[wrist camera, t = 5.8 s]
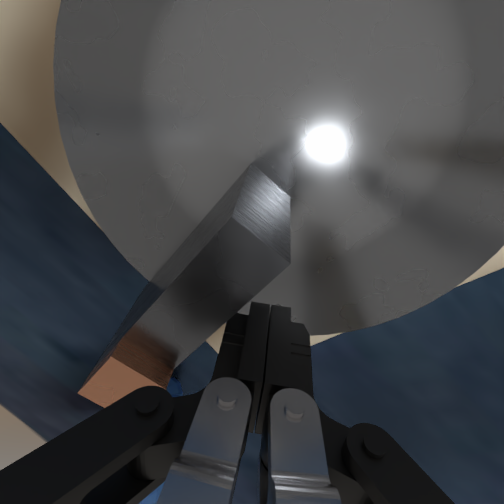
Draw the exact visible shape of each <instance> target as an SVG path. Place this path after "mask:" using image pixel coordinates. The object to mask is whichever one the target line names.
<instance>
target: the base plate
mask: <svg viewBox="0 0 504 504" xmlns="http://www.w3.org/2000/svg"><path fill="white" fill-rule="evenodd" d="M60 3H61V0H0V123H1V124H2V125H3V126H4V127H5V128H6V129H7V130H8V131H9V132H10V133H11V134H12V135H13V137H14V138H15V139H16V140H17V141H18V142H19V143H20V144H21V145H22V146H23V147H24V148H25V149H26V150H27V151H28V152H29V153H30V155H31V156H32V157H33V158H34V159H35V160H36V161H37V162H38V163H39V164H40V165H41V166H42V167H43V168H44V169H45V170H46V172H47V173H48V174H49V175H50V176H51V177H52V178H53V179H54V180H55V181H56V182H57V183H58V184H59V185H60V186H61V187H62V188H63V190H64V191H65V192H66V193H67V194H68V195H69V196H70V197H71V198H72V199H73V200H74V201H75V202H76V203H77V204H78V205H79V207H80V208H81V209H82V210H83V211H84V212H85V213H86V214H87V215H88V216H89V217H90V218H91V219H92V220H93V221H94V222H95V224H96V225H97V226H98V227H99V228H100V229H101V227H100V226H99V224H98V223H97V221H96V220H95V218H94V217H93V215H92V213H91V211H90V209H89V207H88V206H87V204H86V202H85V200H84V198H83V196H82V195H81V193H80V190H79V188H78V185H77V183H76V180H75V178H74V176H73V173H72V171H71V168H70V166H69V163H68V159H67V156H66V152H65V149H64V145H63V142H62V138H61V135H60V129H59V123H58V117H57V111H56V105H55V95H54V74H53V58H54V44H55V30H56V23H57V18H58V13H59V8H60ZM101 230H102V229H101ZM102 231H103V230H102ZM103 232H104V231H103ZM501 268H504V246H503V247H502V248H501V249H500V250H499V251H498V252H497V253H496V254H495V255H494V256H493V257H492V258H491V259H490V260H488V261H487V262H486V263H485V264H484V265H483V266H482V267H481V268H480V269H478V270H477V271H476V272H475V273H474V274H472V275H471V276H470V277H468V278H467V279H466V280H464V281H463V282H462V283H460V284H459V285H457V286H460V285H462V284H464V283H467V282H469V281H472V280H474V279H477V278H479V277H482V276H484V275H487V274H489V273H492V272H494V271H496V270H499V269H501ZM457 286H456V287H457ZM225 326H226V323H225V324H223V325H222V326H221V327H220V328H219V329H218V330H217V331H216V332H215V333H213V334H212V335H211V336H210V337H209V338H208V339H207V340H206V341H207V342H208V343H209V344H210V346H211V347H212V348H213V349H214V350H215V351H216V352H217V353H219V349H220V346H221V342H222V338H223V334H224V330H225ZM343 333H344V332H343ZM339 334H341V333H337V334H330V335H315V336H310V346H312V345H314V344H317V343H319V342H322V341H324V340H327V339H329V338H331V337H334V336H336V335H339Z"/></svg>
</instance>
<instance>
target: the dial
mask: <svg viewBox="0 0 504 504" xmlns="http://www.w3.org/2000/svg"><path fill="white" fill-rule="evenodd" d="M53 74H54V95H55V105H56V111H57V117H58V123H59V129H60V135H61V138H62V142H63V145H64V149H65V152H66V156H67V159H68V163H69V166H70V168H71V171H72V173H73V176H74V178H75V180H76V183H77V185H78V188H79V190H80V193H81V195H82V196H83V198H84V200H85V202H86V204H87V206H88V207H89V209H90V211H91V213H92V215H93V217H94V218H95V220H96V221H97V223H98V224H99V226H100V227H101V229H102V230H103V231H104V233H105V234H106V236H107V237H108V239H109V240H110V242H111V243H112V244H113V245H114V246H115V247H116V248H117V250H118V251H119V252H120V253H121V254H122V255H123V257H124V258H125V259H126V260H127V261H128V262H129V263H130V264H131V265H132V266H133V267H134V268H135V269H136V270H137V271H138V272H140V273H141V274H142V275H143V276H144V277H145V278H146V279H147V280H148V281H150V282H149V283H148V284H147V285H146V286H145V288H144V289H143V290H142V292H141V294H140V295H139V297H138V298H137V300H136V302H135V303H134V305H133V306H132V308H131V309H130V311H129V313H128V314H127V316H126V317H125V319H124V321H123V322H122V324H121V325H120V327H119V329H118V330H117V332H116V333H115V335H114V337H113V338H112V340H111V341H110V343H109V344H108V346H107V348H106V349H105V351H104V352H103V354H102V356H101V357H100V359H99V360H98V362H97V364H96V365H95V367H94V368H93V370H92V372H91V373H90V374H89V376H88V377H87V379H86V380H85V382H84V384H83V385H82V387H81V388H80V390H79V392H78V394H80V395H82V396H84V397H85V398H87V399H89V400H91V401H93V402H94V403H96V404H98V405H100V406H102V407H104V408H106V407H107V406H109V405H111V404H112V403H114V402H116V401H117V400H119V399H121V398H122V397H124V396H126V395H127V394H129V393H131V392H132V391H134V390H136V389H138V388H141V387H144V386H159V387H162V388H164V389H166V388H167V386H168V383H169V380H170V378H171V375H172V372H173V370H174V369H175V368H176V367H177V366H178V365H179V364H180V363H181V362H182V361H183V360H185V359H186V358H187V357H188V356H189V355H190V354H191V353H192V352H193V351H195V350H196V349H197V348H198V347H199V346H200V345H201V344H202V343H203V342H205V341H206V340H207V339H208V338H209V337H210V336H211V335H212V334H213V333H215V332H216V331H217V330H218V329H219V328H220V327H221V326H222V325H223V324H225V323H227V321H228V320H229V319H230V318H231V317H232V316H233V315H235V314H236V313H240V314H246V315H249V311H250V305H251V301H253V302H259V303H265V304H270V310H271V305H278V306H285V307H291V322H296V323H302V324H304V325H305V327H306V329H307V331H308V332H309V334H310V336H315V335H330V334H337V333H343V332H350V331H355V330H359V329H363V328H367V327H371V326H375V325H378V324H381V323H384V322H387V321H390V320H393V319H396V318H398V317H401V316H403V315H406V314H408V313H410V312H412V311H414V310H416V309H418V308H421V307H423V306H425V305H427V304H429V303H430V302H432V301H434V300H435V299H437V298H439V297H440V296H442V295H444V294H446V293H447V292H449V291H451V290H452V289H453V288H455V287H456V286H457V285H459V284H460V283H462V282H463V281H464V280H466V279H467V278H468V277H470V276H471V275H472V274H474V273H475V272H476V271H477V270H478V269H480V268H481V267H482V266H483V265H484V264H485V263H486V262H487V261H488V260H490V259H491V258H492V257H493V256H494V255H495V254H496V253H497V252H498V251H499V250H500V249H501V248H502V247H503V246H504V0H61V3H60V8H59V13H58V18H57V23H56V30H55V44H54V58H53ZM269 315H270V314H269Z"/></svg>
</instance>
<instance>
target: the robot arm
mask: <svg viewBox="0 0 504 504" xmlns="http://www.w3.org/2000/svg"><path fill="white" fill-rule="evenodd" d="M269 314H270V315H269ZM256 414H257V417H256ZM255 419H256V426H255V433H257V434H262V438H261V449H260V453H259V458H258V496H257V504H455V503H454V502H453V501H452V500H451V499H450V498H449V497H448V496H447V495H446V494H445V493H444V492H443V491H442V490H441V489H440V488H439V487H438V486H437V485H436V483H435V482H434V481H433V480H432V479H431V478H430V477H429V476H428V475H427V474H426V473H425V472H424V471H423V470H422V469H421V468H420V467H419V466H418V464H417V463H416V462H415V461H414V460H413V459H412V458H411V457H410V456H409V455H408V454H407V453H406V452H405V451H404V450H403V449H402V448H401V447H400V446H399V444H398V443H397V442H396V441H395V440H394V439H393V438H392V437H391V436H390V435H389V434H388V433H387V432H386V431H384V430H383V429H381V428H380V427H378V426H375V425H373V424H369V423H360V424H356V425H354V426H353V427H352V428H351V429H350V428H348V427H346V426H344V425H342V424H340V423H338V422H336V421H334V420H332V419H331V418H329V417H328V416H326V415H325V414H324V413H323V412H322V411H321V410H320V409H319V407H318V406H317V404H316V402H315V399H314V396H313V383H312V365H311V348H310V334H309V332H308V331H307V329H306V327H305V325H304V324H302V323H296V322H291V307H285V306H278V305H271V310H270V304H265V303H259V302H253V301H251V305H250V311H249V315H246V314H240V313H236V314H235V315H233V316H232V317H231V318H230V319H229V320H228V321H227V323H226V326H225V330H224V334H223V338H222V342H221V346H220V349H219V353H218V357H217V361H216V365H215V369H214V372H213V376H212V379H211V381H210V383H209V384H208V385H207V386H206V387H205V388H204V389H202V390H201V391H199V392H197V393H195V394H192V395H187V396H179V397H172V396H171V394H170V393H169V392H168V391H167V390H166V389H164V388H162V387H159V386H144V387H141V388H138V389H136V390H134V391H132V392H131V393H129V394H127V395H126V396H124V397H122V398H121V399H119V400H117V401H116V402H114V403H112V404H111V405H109V406H107V407H106V408H104V409H102V410H101V411H99V412H97V413H96V414H94V415H92V416H91V417H89V418H87V419H86V420H84V421H82V422H81V423H79V424H77V425H76V426H74V427H72V428H71V429H69V430H67V431H66V432H64V433H62V434H61V435H59V436H57V437H56V438H54V439H52V440H51V441H49V442H47V443H46V444H44V445H42V446H41V447H39V448H37V449H35V450H34V451H32V452H31V453H29V454H27V455H25V456H24V457H22V458H21V459H19V460H17V461H15V462H14V463H12V464H10V465H9V466H7V467H5V468H4V469H2V470H0V504H139V503H140V502H141V501H142V500H143V499H145V498H146V497H147V496H148V495H149V494H150V493H152V492H153V491H154V490H155V489H156V488H158V487H159V486H160V485H161V484H162V483H163V482H164V481H165V482H164V485H163V488H162V490H161V493H160V496H159V498H158V501H157V503H156V504H232V499H233V494H234V490H235V485H236V480H237V476H238V471H239V466H240V461H241V457H242V455H243V453H244V451H245V446H246V441H247V435H248V432H251V433H253V430H254V425H255Z"/></svg>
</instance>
